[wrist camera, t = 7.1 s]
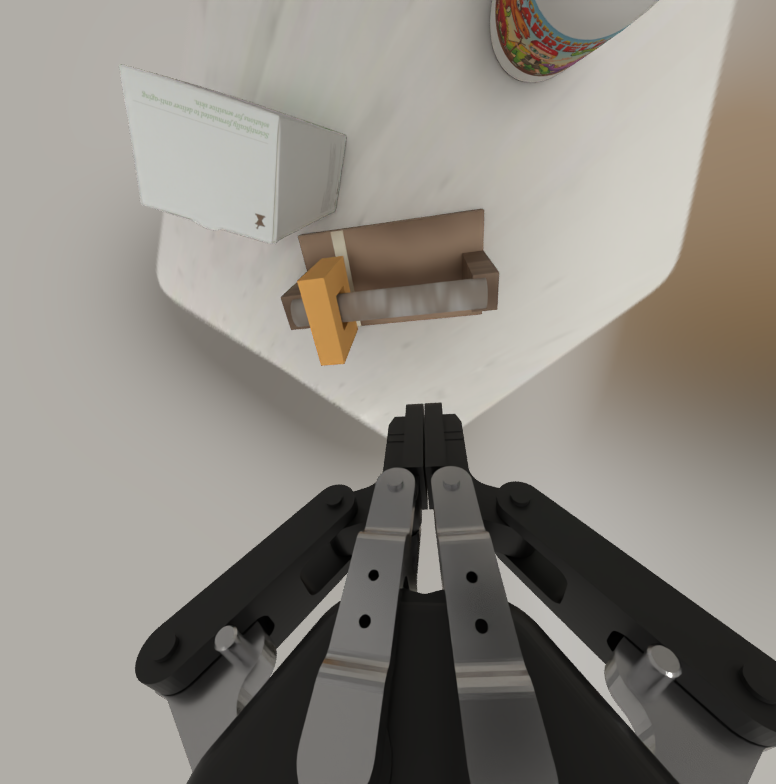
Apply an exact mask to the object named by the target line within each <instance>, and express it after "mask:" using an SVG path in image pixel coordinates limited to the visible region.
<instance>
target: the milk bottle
mask: <svg viewBox="0 0 776 784" xmlns="http://www.w3.org/2000/svg"><path fill="white" fill-rule="evenodd" d="M658 1H659V0H492V6H491V14H490V34H491V41H492V46H493V49H494V52H495V55H496V57H497V59H498V61H499V63H500V64H501V66H502V67H503V69H504V70H505V71H506V72H507V73H508V74H509V75H511V76H512V77H514V78H516V79H518V80H520V81H524V82H540V81H544V80H547V79H550V78H552V77H554V76H556V75H557V74H559V73H561V72H563V71H564V70H566V69H567V68H569V67H570V66H572V65H573V64H575V63H576V62H578V61H579V60H581V59H582V58H584V57H585V56H587V55H588V54H590V53H591V52H593V51H594V50H595V49H597V48H598V47H600V46H601V45H603V44H604V43H606V42H607V41H608V40H610V39H611V38H613V37H614V36H615V35H617V34H618V33H620V32H621V31H623V30H624V29H625V28H626V27H628V26H629V25H630V24H631V23H633V22H634V21H635V20H637V19H638V18H639V17H640V16H642V15H643V14H644V13H645V12H647V11H648V10H649V9H650V8H651V7H652V6H653V5H654V4H656V3H657V2H658Z"/></svg>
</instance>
